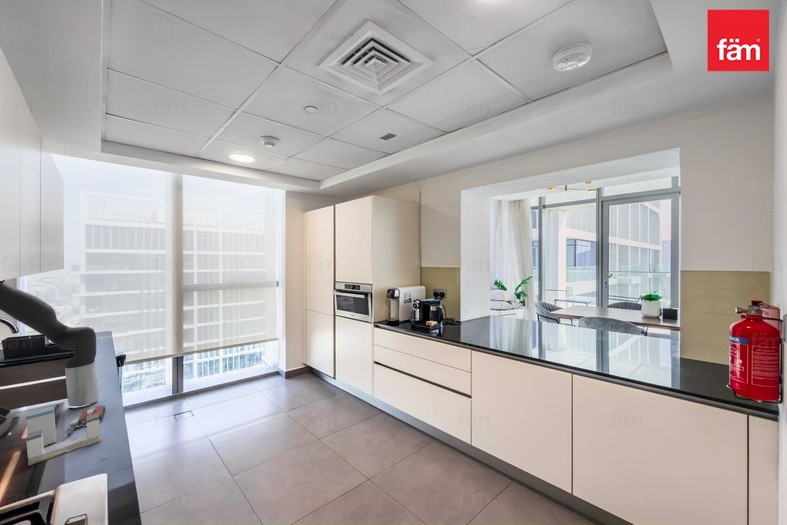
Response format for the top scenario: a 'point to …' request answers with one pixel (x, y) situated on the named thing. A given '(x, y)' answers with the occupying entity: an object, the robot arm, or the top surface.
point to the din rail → (64, 445)
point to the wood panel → (62, 451)
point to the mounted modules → (36, 437)
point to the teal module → (42, 424)
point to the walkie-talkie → (82, 419)
